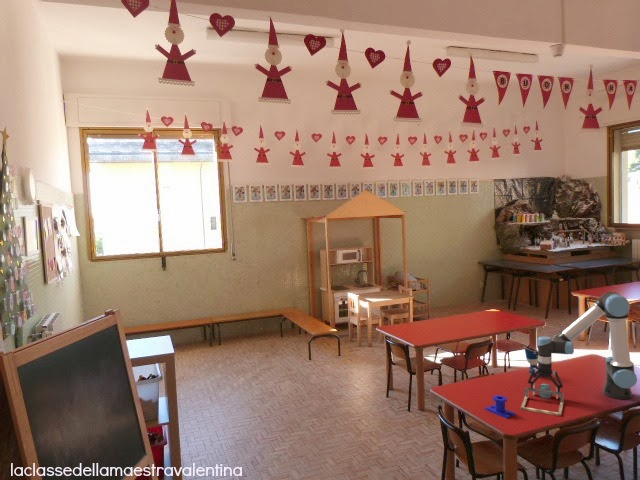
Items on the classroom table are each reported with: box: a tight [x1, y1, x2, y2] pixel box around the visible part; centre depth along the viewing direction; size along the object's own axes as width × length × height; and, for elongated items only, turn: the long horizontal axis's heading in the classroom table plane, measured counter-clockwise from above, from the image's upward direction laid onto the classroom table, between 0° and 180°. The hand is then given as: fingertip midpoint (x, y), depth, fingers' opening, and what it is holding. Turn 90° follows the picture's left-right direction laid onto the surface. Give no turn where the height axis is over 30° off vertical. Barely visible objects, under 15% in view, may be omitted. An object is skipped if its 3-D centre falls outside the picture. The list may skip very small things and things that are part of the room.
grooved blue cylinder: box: [539, 383, 552, 400], centre depth 292 cm, size 6×6×7 cm
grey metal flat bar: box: [524, 387, 565, 404], centre depth 287 cm, size 21×2×6 cm, turn 59°
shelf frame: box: [520, 395, 565, 417], centre depth 279 cm, size 21×20×1 cm
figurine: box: [524, 346, 539, 377], centre depth 329 cm, size 13×9×20 cm
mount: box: [484, 394, 517, 419], centre depth 273 cm, size 15×8×9 cm, turn 31°
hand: (545, 396), depth 293 cm, fingers open, 12 cm apart
